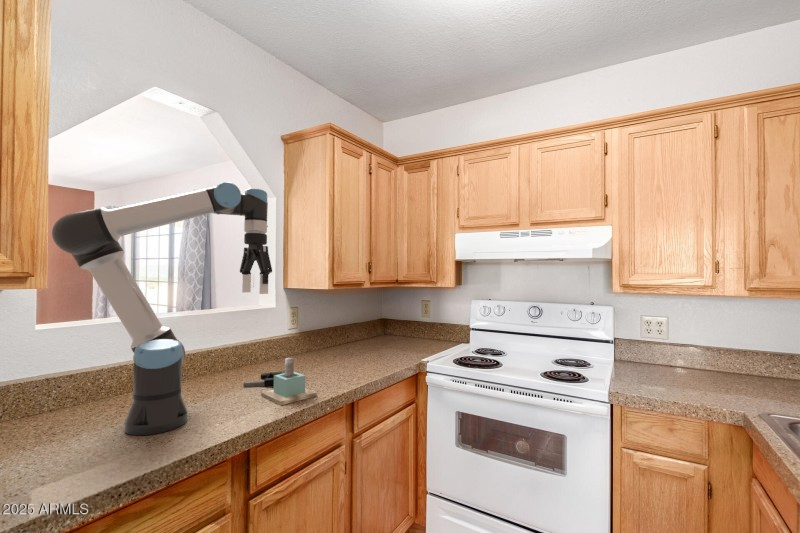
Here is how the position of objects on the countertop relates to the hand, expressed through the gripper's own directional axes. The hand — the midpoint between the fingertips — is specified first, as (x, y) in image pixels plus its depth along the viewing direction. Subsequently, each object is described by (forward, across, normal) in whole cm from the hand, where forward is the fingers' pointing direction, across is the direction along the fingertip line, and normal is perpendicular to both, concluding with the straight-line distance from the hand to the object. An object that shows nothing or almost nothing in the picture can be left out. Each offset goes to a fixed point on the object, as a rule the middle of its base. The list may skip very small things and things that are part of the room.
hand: (254, 293), depth 133 cm
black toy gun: (+37, +13, -12) cm, 41 cm away
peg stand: (+37, -7, -10) cm, 39 cm away
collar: (+36, -7, -10) cm, 38 cm away
